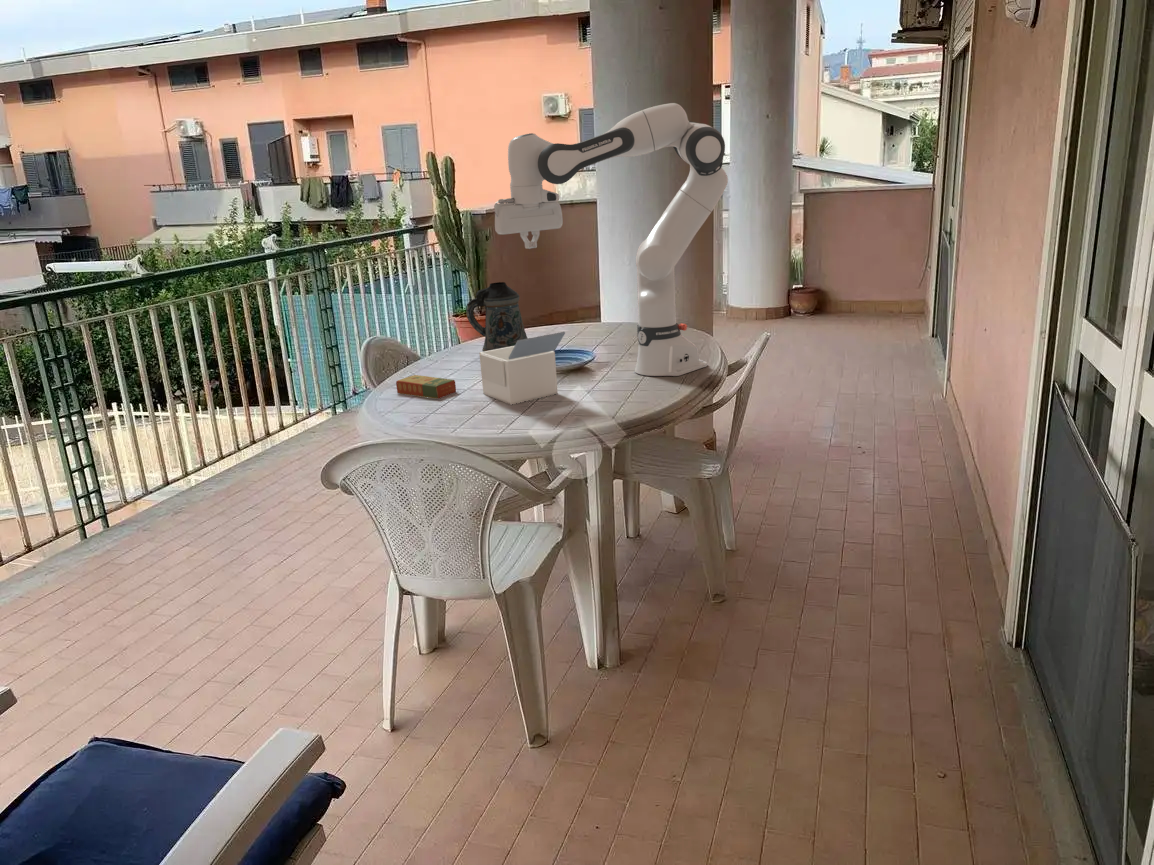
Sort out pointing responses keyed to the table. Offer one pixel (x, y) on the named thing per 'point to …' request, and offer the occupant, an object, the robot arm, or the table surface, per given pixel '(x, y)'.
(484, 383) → the shipping box
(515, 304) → the beer stein
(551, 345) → the flap
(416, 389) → the carton
